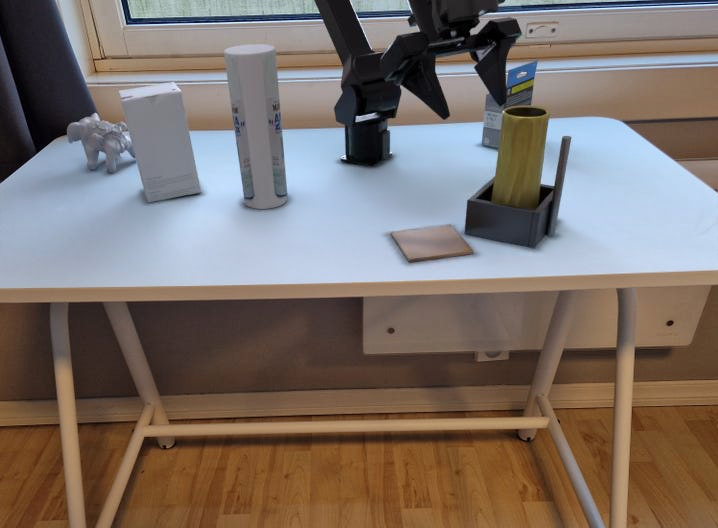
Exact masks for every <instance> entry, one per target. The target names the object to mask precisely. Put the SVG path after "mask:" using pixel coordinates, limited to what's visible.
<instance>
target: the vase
mask: <svg viewBox="0 0 718 528" xmlns="http://www.w3.org/2000/svg"><path fill="white" fill-rule="evenodd" d="M550 114H551V111H550V110H549V109H547V108H546V107H542V106H538V105H531V106H527V105H522V106H512V107H508V108H505V109H504V110H503V113H502V122H501V131H500V140H499V149H497V158H496V165H495V173H494V176H495V179H494V186H493V192H492V199H491V202H496V203H501V204H507V205H512V206H518V207H523V208H529V209H534V210H536V209H537V208H538V203H539V193H540V185H541V184H542V177H543V175H542V174H543V169H544V159H545V153H546V142H547V135H548V129H549V128H548V127H549V122H550Z"/></svg>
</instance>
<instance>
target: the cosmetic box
mask: <svg viewBox="0 0 718 528" xmlns="http://www.w3.org/2000/svg"><path fill="white" fill-rule="evenodd" d="M118 96H119V99H120V104H121V107H122V112H123V116H124V120H125V124H126V125H127V131H128V135H129V138H130V139H131V142H132V146H133V150H134V154H135V158H136V159H135V158H134V159H135V161H136V164H137V165H136V166H137V168H138V169H137V170H138V173H139V176H140V180H141V184H142V188H143V191H144V194H145V198H146V200H147V203H153V202H159V201H164V200H169V199H174V198H179V197H184V196H190V195H191V196H192V195H195V194H200V193H202V188H201V185H200V184H201V183H200V178H199V174H198V169H197V165H196V159H195V153H194V150H193V144H192V138H191V133H190V128H189V124H188V118H187V113H186V108H185V104H184V97H183V92H182V90H181V89H180V88H179V87H178V85H177V84H176V82H175V81H170V82H164V83H159V84H153V85H146V86H141V87H135V88H128V89H127V88H126V89H121V90H118Z"/></svg>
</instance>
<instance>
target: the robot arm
mask: <svg viewBox="0 0 718 528" xmlns="http://www.w3.org/2000/svg"><path fill="white" fill-rule="evenodd" d="M313 1H314V4H315V5H316V6H315V7H316V8H317V10H318V12H319V14H320V17H321V19H322V21H323V24H324V26H325V28H326V31H327V33H328V36H329V37H330V40H331V43H332V44H333V47H334V49H335V52H336V54H337V56H338V58H339V61H340V63H341V65H342V73H341V81H340V89H341V95H340V97H339V98H338V99H337V102H336V103H335V105H334V107H333V113H334V117H335V121H336V123H339V124H341V125H344V148H345V149H344V150H345V154H343V155H342V156H341V157H340V158H339V159H340V161H341V162H344V163H351V164H356V165H363V166H369V167H376V166H377V165H379V164H380V163H382V162H384V161H385V160H387V159H388V158H390V157H392V156H393V152H392V151H391V130H390V129H388V128H389V125H388V124H389V119H396V118H397V113H398V110H399V105H400V102H401V98H402V90H403V89H402V87H403V88H404V89H406V90H407V91H408V92H410V93H411V94H412V95H414V96H415V97H416V98H418V99H419V100H420V101H421V102H423V104H425V105H426V106H427V107H428V108H429V109H430V110H432V111H433V113H435V115H437V116H438V117H439V118H440V119H442V120H443V121H446V120H448V119H449V118H450V117H451V112H450V109H449V104H448V102H447V99H446V96H445V93H444V90H443V88H442V86H441V83H440V80H439V78H438V75H437V72H436V59H440V58H446V57H451V56H457V55H461V54H467V53H469V56H470V59H471V60H472V61H474V62H475V63H476V64H475V65H474V66H473V69H474V71H475V72H476V73H477V75H478V77H479V78H480V80H481V82H482V83H483V85H484V87H485V88H486V90H487V92H488V94H489V93H490V94H491V96H492V98H493V99H494V100H495V102H496V103H497V104H498V105H499V106H500V107H501V106H503V105H504V104H506V102H507V98H506V85H507V61H508V60H507V58H508V55H509V52H510V50H511V49H512V48H513V47H514V46H516V44H517V40H518V39H520V38H521V37H522V36H523V32H522V29H521V27H520V25H519V22H518V20H517V18H513V17H511V16H508V17H507V16H506V17H502V18H496V19H494V18H493V19H489V20H488V22H486V24H485V25H483V27H482V28H481V29H480V30H479V31H478V32H477V33H473V34H472V33H471V30H473V29H475V28H476V27H478V26H479V24H480V23H481V20H480V17H482V16H485V15H487V14H490V13H497V12H498V11H500V8H499V6H500V5H501V4H504V3H505V2H506V0H406V2H407V3H408V7H409V10H410V12H411V14H410V15H409V16H408V18H407V23H408V25H409V27H410V28H414V27H417V29H418V31H415V32H408V33H404V34H403V33H402V34H397V35H396V36H395V38H393V40H392V42H391V43H390V44H389V46H387V48H386V50H384V51H380V52H376V51H375V50H373V49H372V47H371V44H370V43H369V40H368V38H367V36H366V33H365V31H364V29H363V26H362V24H361V21H360V20H359V17H358V15H357V13H356V11H355V9H354V7H353V4H352V1H351V0H313Z"/></svg>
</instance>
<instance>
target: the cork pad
mask: <svg viewBox="0 0 718 528" xmlns="http://www.w3.org/2000/svg"><path fill="white" fill-rule="evenodd" d="M390 237H392V239H393V241H394V242H395V243H396V245H397V246H398V248H399V249H400V251H401V253H402V255H404V258H406V260H407V262H408V263H414V262H423V261H430V260H435V259H436V260H438V259H445V258H451V257H459V256H466V255H473V254H474V253H475V251H474V249H473V248H472V247H471V246H470V244H469V243H467V241H466V240H465V239H464V238H463V236H462V235H461V234H460V233H459V232H458V231H457V230H456V229H455V227H453V225H452V224H451V223H448V224H442V225H441V224H440V225H433V226H432V225H431V226H425V227H416V228H409V229H401V230H394V231H390Z"/></svg>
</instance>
